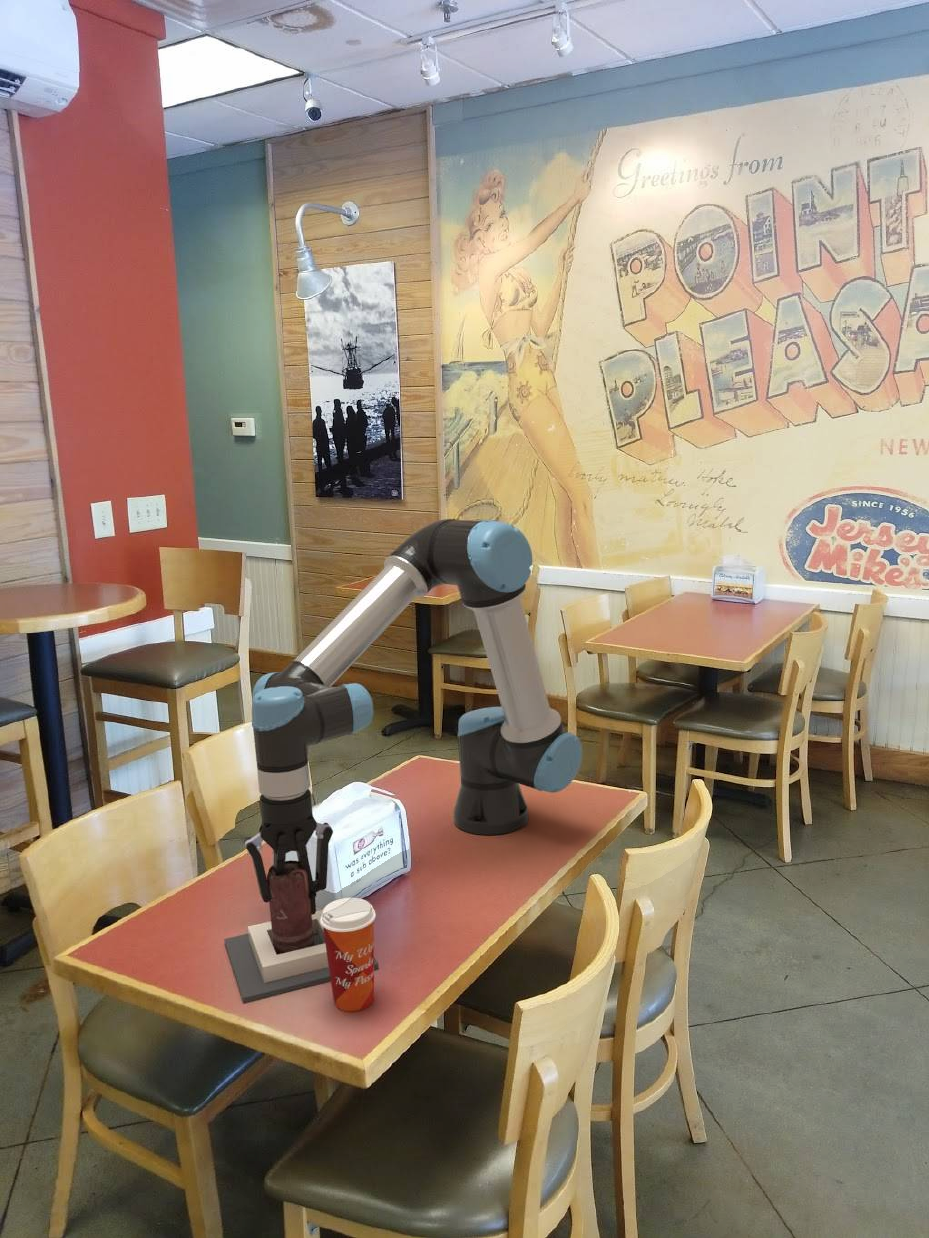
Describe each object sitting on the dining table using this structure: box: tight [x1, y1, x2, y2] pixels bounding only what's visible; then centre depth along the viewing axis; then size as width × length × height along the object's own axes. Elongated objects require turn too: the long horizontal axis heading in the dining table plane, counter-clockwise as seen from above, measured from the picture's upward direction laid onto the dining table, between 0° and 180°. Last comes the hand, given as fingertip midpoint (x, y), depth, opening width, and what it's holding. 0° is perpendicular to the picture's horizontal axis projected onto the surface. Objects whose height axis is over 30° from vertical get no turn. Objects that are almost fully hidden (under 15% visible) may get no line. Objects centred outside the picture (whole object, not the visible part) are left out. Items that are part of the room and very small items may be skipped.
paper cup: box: [320, 897, 377, 1013], centre depth 135 cm, size 8×8×14 cm
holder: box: [247, 908, 329, 983], centre depth 148 cm, size 13×13×2 cm
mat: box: [223, 933, 379, 1004], centre depth 149 cm, size 20×18×1 cm
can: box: [266, 860, 314, 955], centre depth 147 cm, size 6×6×14 cm
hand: (297, 936), depth 148 cm, fingers open, 2 cm apart
